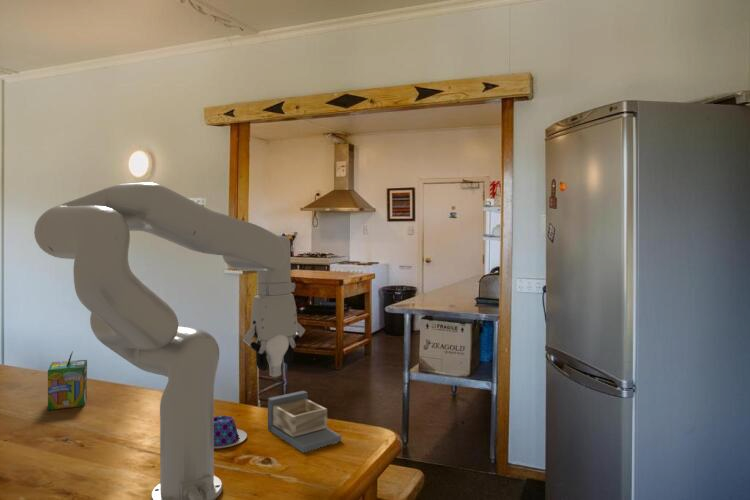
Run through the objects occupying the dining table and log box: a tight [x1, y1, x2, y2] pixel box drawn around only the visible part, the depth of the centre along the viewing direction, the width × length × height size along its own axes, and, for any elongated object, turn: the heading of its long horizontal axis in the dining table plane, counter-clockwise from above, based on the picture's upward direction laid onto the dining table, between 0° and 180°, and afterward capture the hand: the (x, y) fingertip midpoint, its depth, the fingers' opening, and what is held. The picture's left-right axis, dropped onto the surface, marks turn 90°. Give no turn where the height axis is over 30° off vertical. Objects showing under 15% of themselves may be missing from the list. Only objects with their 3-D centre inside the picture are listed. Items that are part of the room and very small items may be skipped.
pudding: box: [214, 415, 248, 449], centre depth 123 cm, size 12×12×5 cm
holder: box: [273, 399, 328, 437], centre depth 127 cm, size 10×10×5 cm
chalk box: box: [47, 351, 88, 411], centre depth 146 cm, size 9×9×15 cm
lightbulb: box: [264, 335, 289, 378], centre depth 118 cm, size 6×6×11 cm
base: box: [267, 390, 342, 454], centre depth 125 cm, size 18×10×8 cm, turn 39°
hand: (275, 366), depth 118 cm, fingers closed on lightbulb, 6 cm apart
